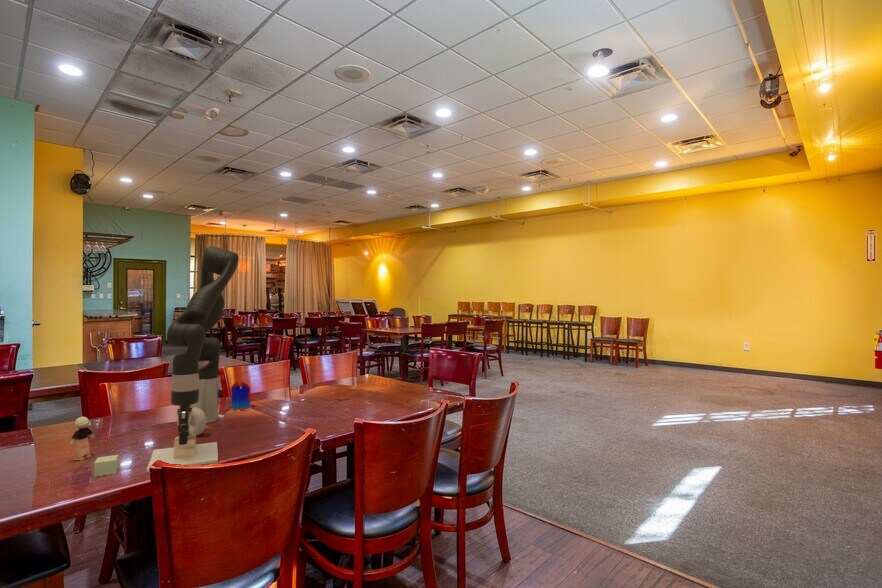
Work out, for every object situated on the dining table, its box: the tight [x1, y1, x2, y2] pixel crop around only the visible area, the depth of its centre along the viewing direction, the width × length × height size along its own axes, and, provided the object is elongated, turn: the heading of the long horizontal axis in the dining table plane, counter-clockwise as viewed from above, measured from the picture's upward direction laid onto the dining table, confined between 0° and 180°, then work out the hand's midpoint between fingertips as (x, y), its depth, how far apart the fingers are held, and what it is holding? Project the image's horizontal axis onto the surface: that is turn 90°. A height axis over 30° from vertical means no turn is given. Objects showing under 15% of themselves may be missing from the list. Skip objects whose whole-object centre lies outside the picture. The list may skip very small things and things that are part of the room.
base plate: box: [146, 441, 219, 473], centre depth 136 cm, size 18×18×1 cm
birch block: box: [173, 434, 197, 459], centre depth 136 cm, size 6×6×5 cm
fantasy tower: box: [222, 381, 258, 412], centre depth 197 cm, size 12×12×12 cm
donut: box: [189, 407, 208, 437], centre depth 158 cm, size 10×4×10 cm, turn 66°
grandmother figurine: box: [69, 416, 96, 461], centre depth 134 cm, size 8×4×13 cm, turn 5°
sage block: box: [93, 454, 119, 478], centre depth 124 cm, size 5×5×4 cm
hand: (184, 440), depth 136 cm, fingers open, 8 cm apart
